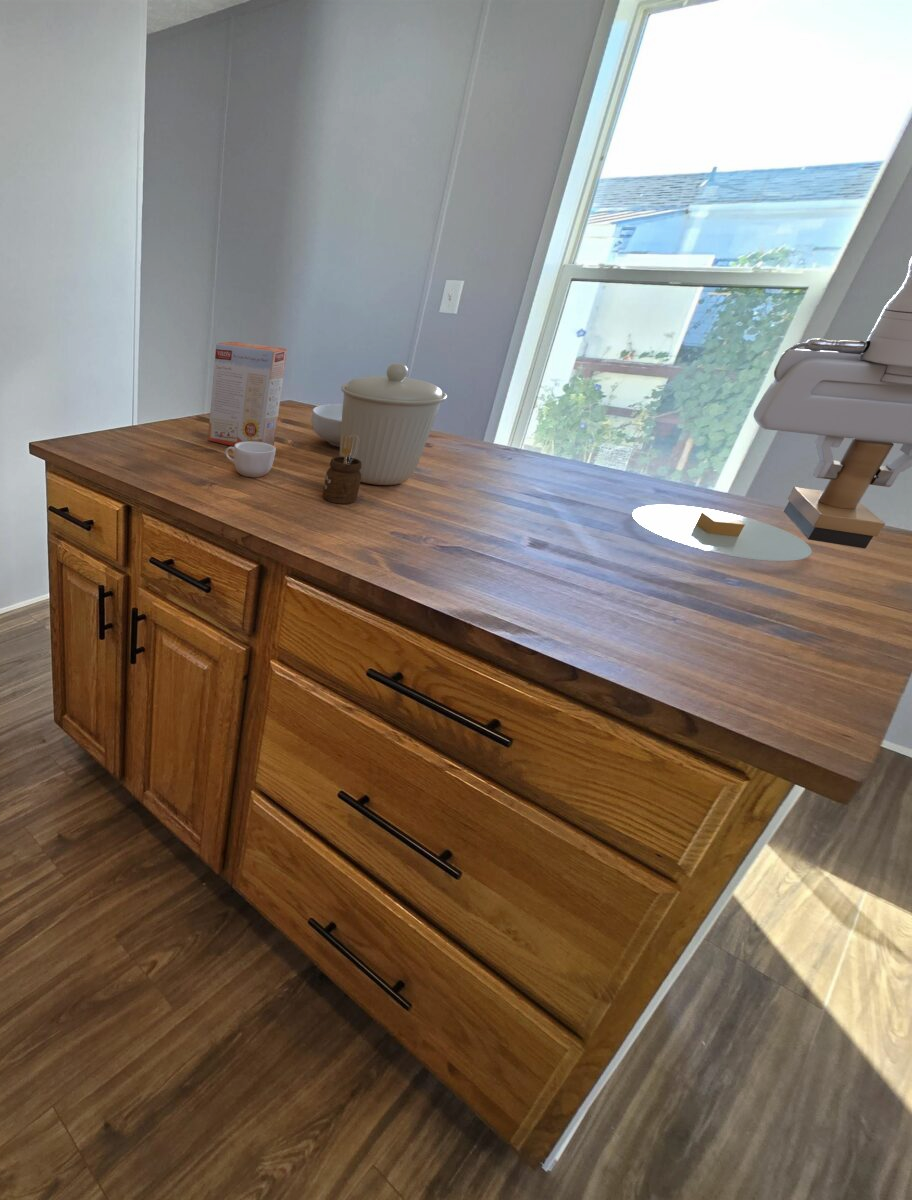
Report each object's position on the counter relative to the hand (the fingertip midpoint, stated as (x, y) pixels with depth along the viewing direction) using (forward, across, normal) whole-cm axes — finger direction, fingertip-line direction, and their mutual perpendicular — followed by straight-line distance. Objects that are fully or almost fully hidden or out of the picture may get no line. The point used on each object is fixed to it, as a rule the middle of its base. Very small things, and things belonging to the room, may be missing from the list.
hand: (850, 481), depth 71 cm
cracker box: (+18, -82, +40) cm, 93 cm away
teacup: (+18, -74, +22) cm, 80 cm away
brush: (+6, 0, 0) cm, 6 cm away
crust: (+17, 0, +31) cm, 35 cm away
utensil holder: (+18, -55, +17) cm, 61 cm away
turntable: (+19, 0, +31) cm, 36 cm away
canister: (+18, -52, +33) cm, 64 cm away
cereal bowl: (+18, -62, +54) cm, 84 cm away
